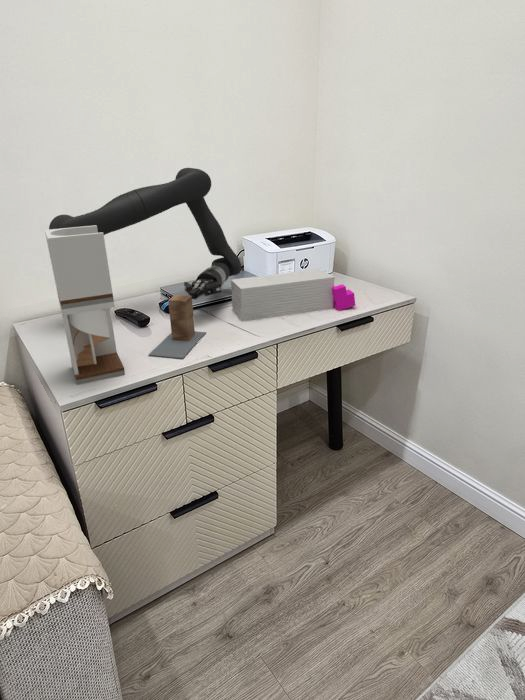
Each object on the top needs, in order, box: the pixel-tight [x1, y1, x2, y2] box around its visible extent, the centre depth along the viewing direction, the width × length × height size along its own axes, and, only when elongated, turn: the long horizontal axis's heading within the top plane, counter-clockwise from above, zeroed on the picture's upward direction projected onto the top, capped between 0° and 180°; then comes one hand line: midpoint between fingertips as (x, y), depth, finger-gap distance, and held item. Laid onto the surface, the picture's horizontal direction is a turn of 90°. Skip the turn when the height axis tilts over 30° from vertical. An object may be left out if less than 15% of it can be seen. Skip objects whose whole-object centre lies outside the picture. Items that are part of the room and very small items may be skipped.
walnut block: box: [167, 294, 196, 341], centre depth 138 cm, size 5×5×12 cm
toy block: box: [332, 283, 356, 311], centre depth 165 cm, size 15×6×8 cm, turn 14°
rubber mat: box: [147, 330, 207, 360], centre depth 137 cm, size 10×18×1 cm, turn 166°
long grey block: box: [230, 268, 335, 322], centre depth 160 cm, size 32×11×11 cm, turn 110°
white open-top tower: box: [44, 225, 126, 385], centre depth 116 cm, size 11×11×35 cm
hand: (192, 296), depth 145 cm, fingers closed
